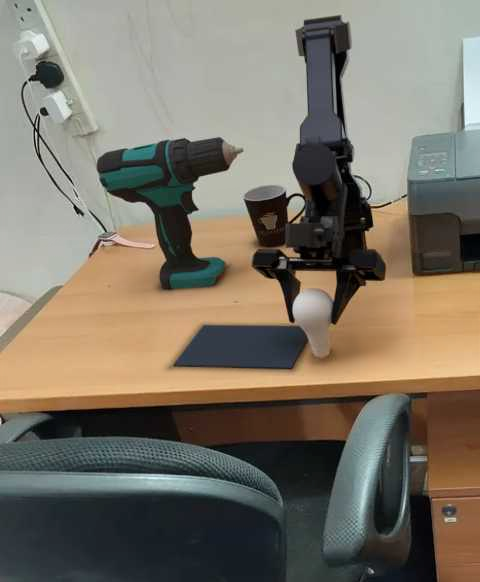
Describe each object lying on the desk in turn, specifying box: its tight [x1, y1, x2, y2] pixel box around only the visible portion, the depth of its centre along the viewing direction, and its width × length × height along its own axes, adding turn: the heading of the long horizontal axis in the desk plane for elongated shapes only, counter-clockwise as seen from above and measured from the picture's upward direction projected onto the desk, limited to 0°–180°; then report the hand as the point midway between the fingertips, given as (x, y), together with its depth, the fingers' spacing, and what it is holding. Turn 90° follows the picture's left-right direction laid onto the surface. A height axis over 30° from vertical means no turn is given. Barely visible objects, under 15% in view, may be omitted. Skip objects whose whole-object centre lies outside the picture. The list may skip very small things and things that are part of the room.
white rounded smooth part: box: [293, 287, 334, 359], centre depth 96 cm, size 6×6×11 cm
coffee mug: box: [242, 184, 306, 248], centre depth 134 cm, size 12×9×10 cm
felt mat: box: [173, 324, 308, 370], centre depth 105 cm, size 20×12×1 cm, turn 77°
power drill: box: [96, 136, 244, 291], centre depth 120 cm, size 26×9×25 cm, turn 84°
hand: (312, 323), depth 95 cm, fingers closed on white rounded smooth part, 6 cm apart
